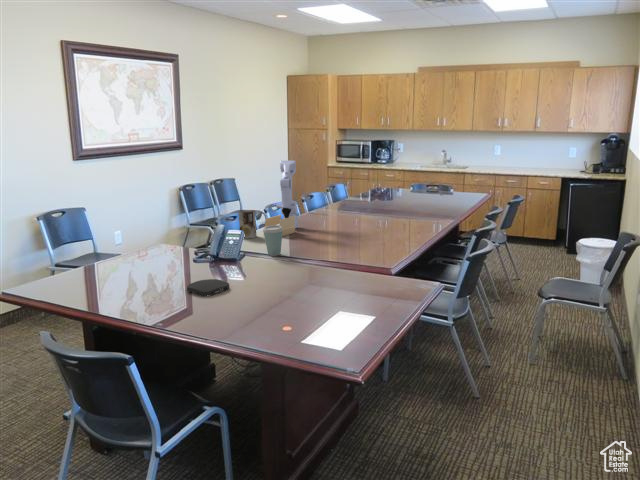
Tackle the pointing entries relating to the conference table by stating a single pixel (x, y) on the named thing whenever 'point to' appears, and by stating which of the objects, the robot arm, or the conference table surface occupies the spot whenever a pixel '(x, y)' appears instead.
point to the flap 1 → (273, 220)
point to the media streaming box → (208, 287)
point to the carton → (288, 231)
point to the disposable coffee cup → (273, 239)
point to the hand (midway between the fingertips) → (286, 220)
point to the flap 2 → (287, 222)
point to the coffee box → (248, 223)
